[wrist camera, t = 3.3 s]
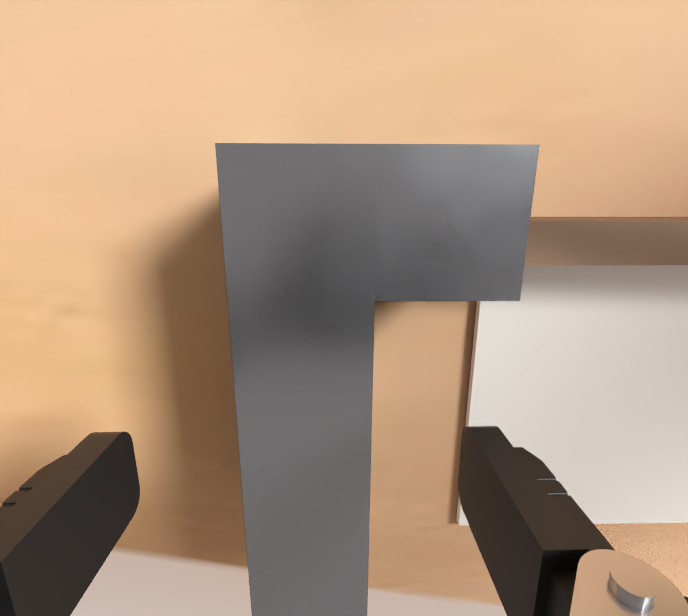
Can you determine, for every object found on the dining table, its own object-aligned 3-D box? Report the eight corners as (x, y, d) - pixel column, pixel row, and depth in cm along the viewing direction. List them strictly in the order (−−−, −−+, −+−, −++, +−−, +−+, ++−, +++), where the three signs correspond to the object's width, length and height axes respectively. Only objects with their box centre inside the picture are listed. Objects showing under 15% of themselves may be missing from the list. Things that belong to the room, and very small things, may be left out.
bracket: (261, 164, 15) (215, 143, 10) (464, 164, 16) (539, 145, 10) (278, 504, 20) (253, 631, 14) (438, 503, 20) (479, 628, 14)
